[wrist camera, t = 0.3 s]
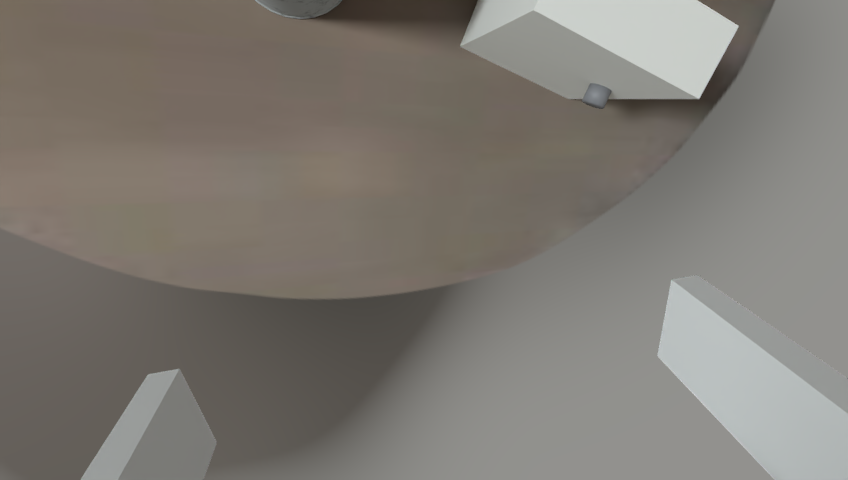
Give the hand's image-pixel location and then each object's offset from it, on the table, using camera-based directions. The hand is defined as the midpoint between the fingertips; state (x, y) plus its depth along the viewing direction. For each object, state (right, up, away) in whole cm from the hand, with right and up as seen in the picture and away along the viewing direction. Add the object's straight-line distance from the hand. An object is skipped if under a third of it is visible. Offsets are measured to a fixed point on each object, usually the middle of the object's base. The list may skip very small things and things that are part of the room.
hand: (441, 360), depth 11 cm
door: (+8, +19, +24) cm, 32 cm away
